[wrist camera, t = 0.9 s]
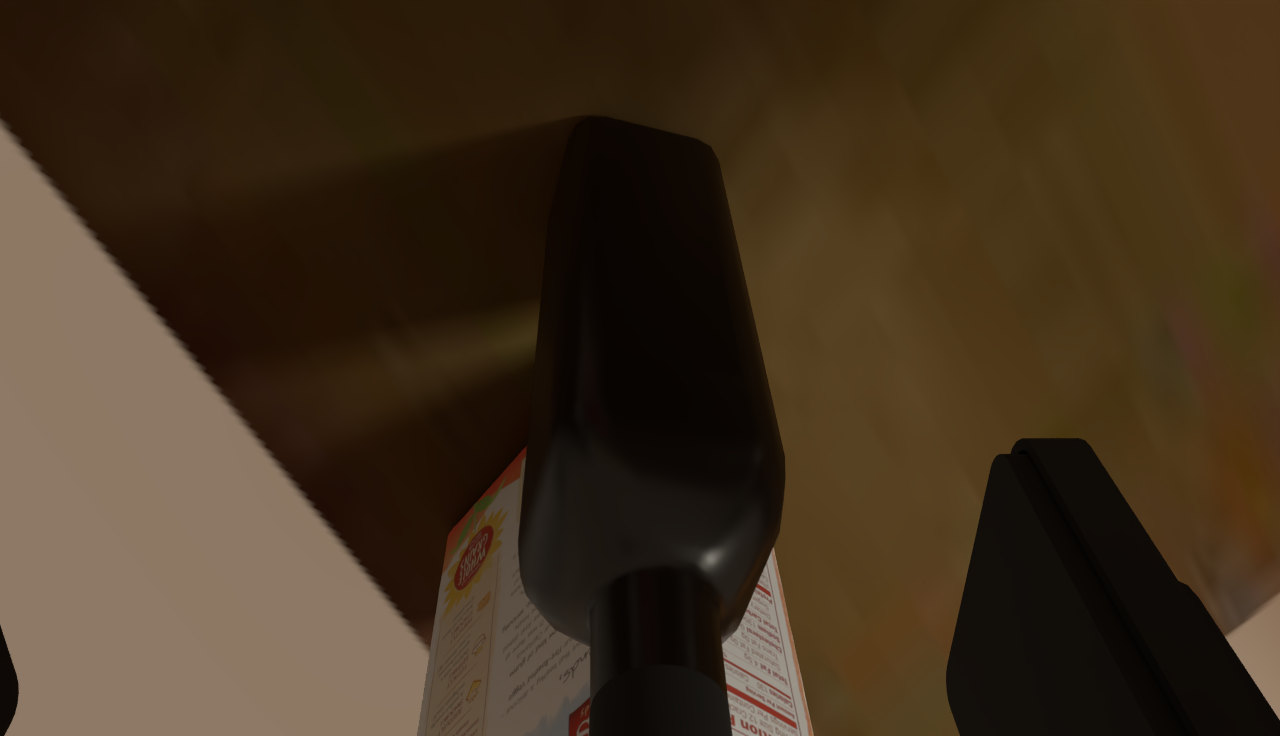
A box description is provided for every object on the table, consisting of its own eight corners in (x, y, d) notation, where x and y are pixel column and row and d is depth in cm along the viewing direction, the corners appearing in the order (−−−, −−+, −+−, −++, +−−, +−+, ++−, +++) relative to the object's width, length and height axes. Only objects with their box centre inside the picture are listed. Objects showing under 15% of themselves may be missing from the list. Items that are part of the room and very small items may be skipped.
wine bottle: (684, 275, 47) (781, 1038, 21) (542, 243, 46) (465, 999, 20) (725, 142, 44) (897, 836, 18) (575, 105, 43) (535, 780, 18)
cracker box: (552, 591, 55) (528, 1045, 37) (443, 529, 53) (362, 978, 35) (753, 389, 50) (837, 808, 32) (640, 311, 48) (662, 711, 30)
